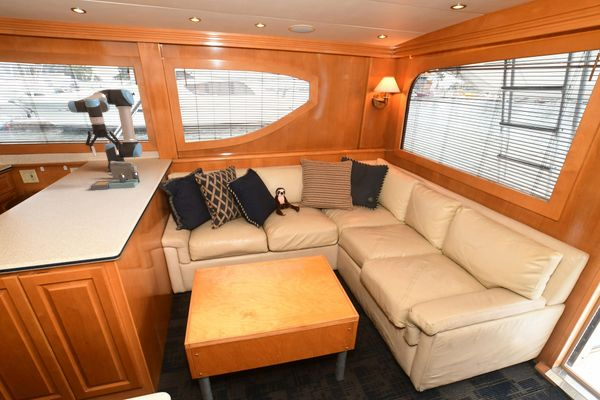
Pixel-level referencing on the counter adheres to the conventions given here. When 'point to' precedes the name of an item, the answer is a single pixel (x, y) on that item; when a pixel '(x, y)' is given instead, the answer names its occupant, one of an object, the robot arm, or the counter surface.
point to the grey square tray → (101, 187)
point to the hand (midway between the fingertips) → (106, 155)
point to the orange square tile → (101, 183)
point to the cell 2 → (135, 175)
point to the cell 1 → (122, 178)
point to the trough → (123, 184)
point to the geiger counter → (122, 169)
